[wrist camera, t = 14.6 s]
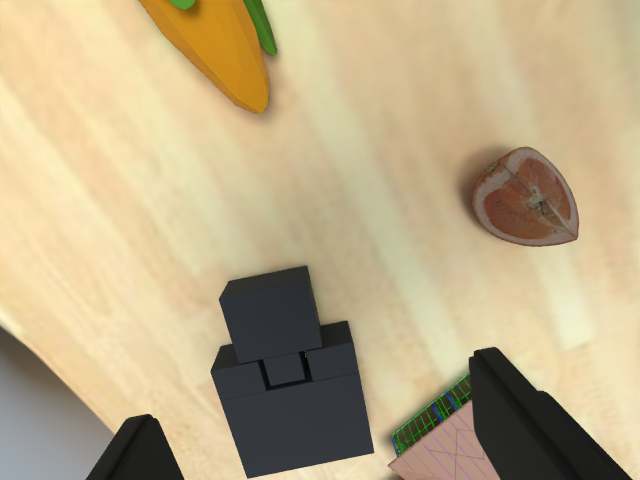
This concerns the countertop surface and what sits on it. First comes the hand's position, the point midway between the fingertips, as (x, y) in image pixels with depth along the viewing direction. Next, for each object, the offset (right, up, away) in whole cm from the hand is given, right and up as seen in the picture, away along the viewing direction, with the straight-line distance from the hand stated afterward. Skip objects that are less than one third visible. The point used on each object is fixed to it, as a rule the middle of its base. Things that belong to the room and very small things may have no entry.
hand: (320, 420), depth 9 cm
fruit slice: (+15, +9, +18) cm, 25 cm away
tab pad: (-4, -2, +20) cm, 20 cm away
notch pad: (-2, -9, +22) cm, 24 cm away
